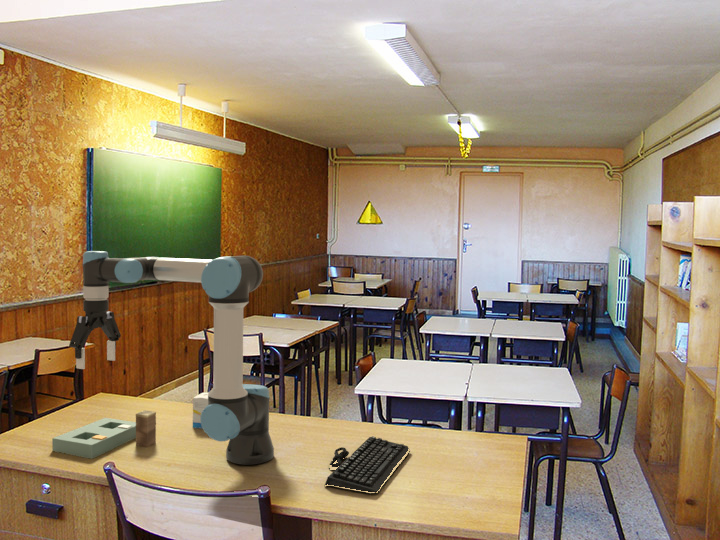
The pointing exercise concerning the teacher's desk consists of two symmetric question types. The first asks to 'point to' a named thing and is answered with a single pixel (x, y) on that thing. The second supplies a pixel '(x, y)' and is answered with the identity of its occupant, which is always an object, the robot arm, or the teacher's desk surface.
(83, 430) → the socket board
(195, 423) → the ink box
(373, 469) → the keyboard
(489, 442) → the teacher's desk surface
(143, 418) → the plug
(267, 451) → the robot arm
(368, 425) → the teacher's desk surface
